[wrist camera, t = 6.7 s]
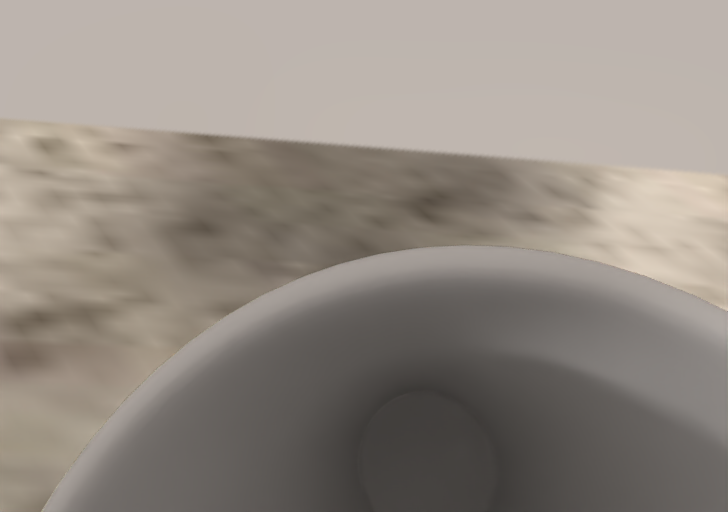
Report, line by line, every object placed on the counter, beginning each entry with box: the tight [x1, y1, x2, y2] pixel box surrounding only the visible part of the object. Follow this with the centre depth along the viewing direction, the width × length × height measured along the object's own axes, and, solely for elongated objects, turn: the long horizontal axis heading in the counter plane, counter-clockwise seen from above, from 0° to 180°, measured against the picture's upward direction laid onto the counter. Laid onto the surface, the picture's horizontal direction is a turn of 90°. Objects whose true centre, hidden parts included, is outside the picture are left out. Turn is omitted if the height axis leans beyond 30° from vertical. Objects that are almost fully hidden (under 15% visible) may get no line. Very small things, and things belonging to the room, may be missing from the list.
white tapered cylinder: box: [41, 245, 728, 512], centre depth 9 cm, size 7×7×15 cm
